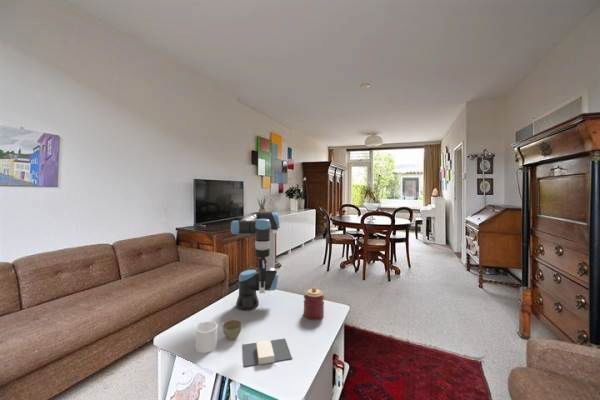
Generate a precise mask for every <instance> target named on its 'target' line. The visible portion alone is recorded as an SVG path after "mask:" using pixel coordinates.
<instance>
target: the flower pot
mask: <svg viewBox="0 0 600 400" xmlns="http://www.w3.org/2000/svg"><path fill="white" fill-rule="evenodd" d="M242 327H243V323H242V321H241V320H239V319H230V320H227V321H225V322H223V324H222V331H223V334H224V336H225V338H226V339H227V340H228V341H234V340H237V338H238V337H239V335H240V333H241V330H242Z"/></svg>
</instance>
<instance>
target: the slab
mask: <svg viewBox="0 0 600 400" xmlns="http://www.w3.org/2000/svg"><path fill="white" fill-rule="evenodd" d="M255 343H256V349H257V356H258V363H259V365H260V366H261V365H265V364H271V363H275V362H274V352H273V348H272V344H271V339H270V340H268V339H267V340H262V341H256V342H255ZM259 365H258V366H259Z"/></svg>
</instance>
